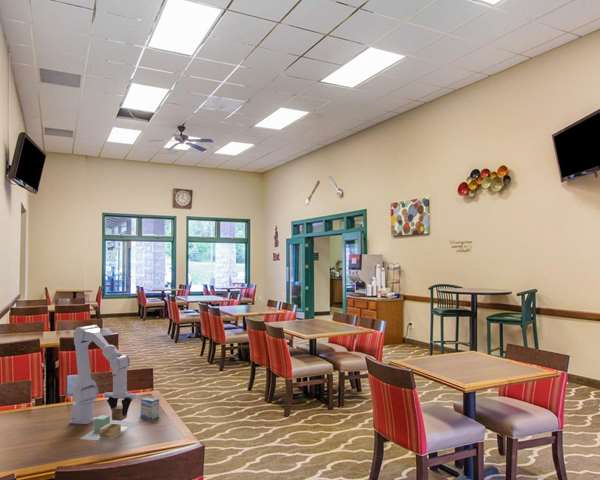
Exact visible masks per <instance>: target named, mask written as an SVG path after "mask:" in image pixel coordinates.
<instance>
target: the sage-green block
mask: <svg viewBox="0 0 600 480" xmlns="http://www.w3.org/2000/svg"><path fill="white" fill-rule="evenodd" d="M110 420H111V416H110V415H104V414H100V415H99V416H97V418H95V419H94V421H93V423H94V425H93V427H94V428H93V430H98V431H100V428H102V427H104V426H105V425H107V424H110Z"/></svg>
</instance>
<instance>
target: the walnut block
mask: <svg viewBox="0 0 600 480" xmlns="http://www.w3.org/2000/svg"><path fill="white" fill-rule="evenodd" d="M127 417H128V414H127V415H125V416H123V406H122V404H120V405H119V404H117V406H116V407H114V408H112V411H111V420H113V421H124V420H125V419H126V418H127Z"/></svg>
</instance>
